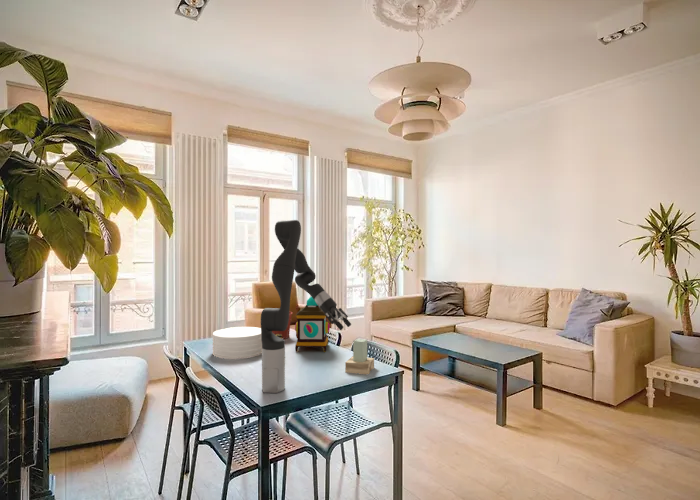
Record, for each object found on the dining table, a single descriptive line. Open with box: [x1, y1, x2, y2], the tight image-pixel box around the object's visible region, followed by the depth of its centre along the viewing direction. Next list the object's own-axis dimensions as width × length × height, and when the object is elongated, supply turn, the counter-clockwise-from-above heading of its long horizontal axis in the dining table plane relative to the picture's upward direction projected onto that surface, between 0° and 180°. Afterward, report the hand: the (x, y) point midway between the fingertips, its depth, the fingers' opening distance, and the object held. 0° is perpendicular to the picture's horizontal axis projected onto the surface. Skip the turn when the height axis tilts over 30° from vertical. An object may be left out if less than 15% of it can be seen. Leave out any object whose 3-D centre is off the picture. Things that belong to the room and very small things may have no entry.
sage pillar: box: [352, 338, 368, 362], centre depth 189 cm, size 5×5×10 cm
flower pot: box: [272, 310, 293, 340], centre depth 256 cm, size 16×16×16 cm
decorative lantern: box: [294, 296, 330, 353], centre depth 229 cm, size 20×20×30 cm
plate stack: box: [212, 326, 262, 360], centre depth 221 cm, size 28×28×12 cm
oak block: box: [344, 355, 375, 375], centre depth 189 cm, size 11×11×5 cm
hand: (346, 327), depth 192 cm, fingers open, 8 cm apart
